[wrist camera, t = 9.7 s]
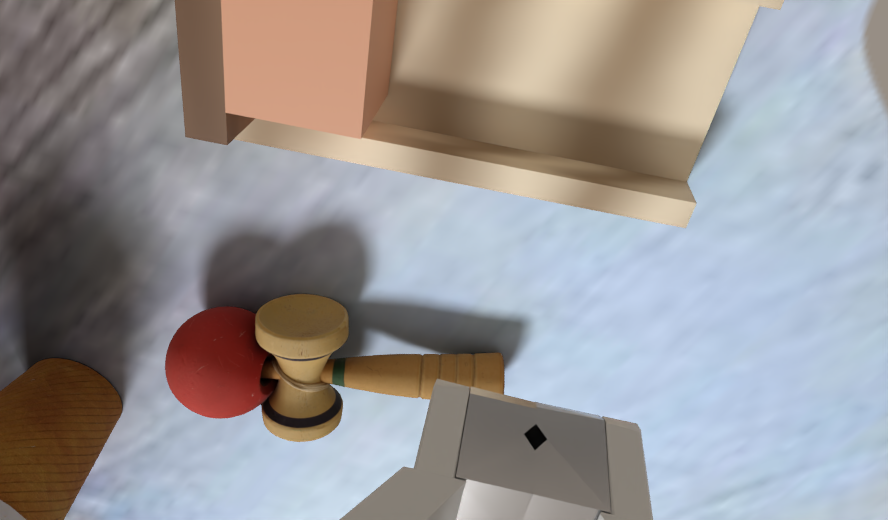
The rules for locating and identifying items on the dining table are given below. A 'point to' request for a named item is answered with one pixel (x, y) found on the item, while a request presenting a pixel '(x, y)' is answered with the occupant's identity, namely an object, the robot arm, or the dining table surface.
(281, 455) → the dining table surface
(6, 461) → the disposable coffee cup
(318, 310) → the kendama
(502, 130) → the channel
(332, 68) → the salmon pink cube
